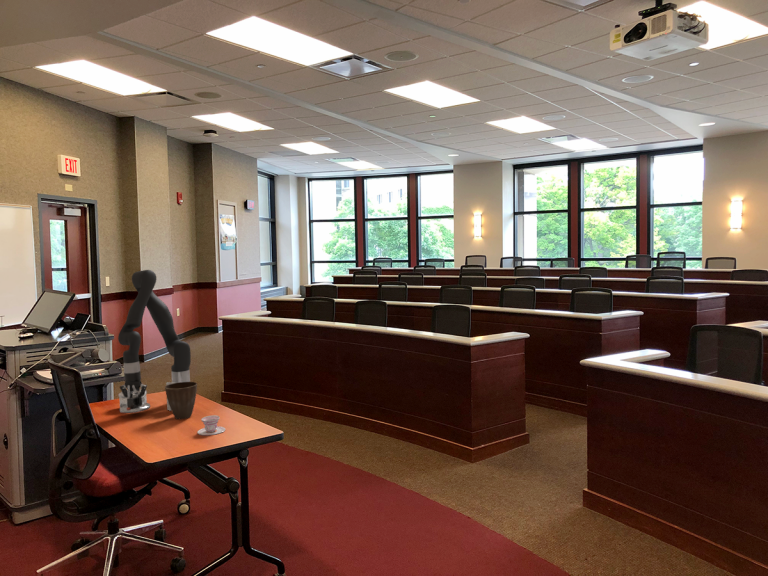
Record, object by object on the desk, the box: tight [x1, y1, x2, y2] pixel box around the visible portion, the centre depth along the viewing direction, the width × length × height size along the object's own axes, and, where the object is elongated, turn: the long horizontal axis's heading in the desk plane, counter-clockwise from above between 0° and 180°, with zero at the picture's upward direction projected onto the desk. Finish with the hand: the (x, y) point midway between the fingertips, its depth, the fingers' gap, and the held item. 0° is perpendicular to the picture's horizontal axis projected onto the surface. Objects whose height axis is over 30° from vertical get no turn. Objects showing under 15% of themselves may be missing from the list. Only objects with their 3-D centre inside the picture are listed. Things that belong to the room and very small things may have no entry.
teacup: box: [197, 414, 226, 436], centre depth 257 cm, size 12×12×6 cm
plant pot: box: [164, 381, 198, 420], centre depth 280 cm, size 15×15×16 cm
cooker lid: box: [119, 395, 151, 414], centre depth 287 cm, size 14×14×6 cm
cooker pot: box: [118, 388, 148, 409], centre depth 302 cm, size 14×14×8 cm
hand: (134, 404), depth 287 cm, fingers closed on cooker lid, 3 cm apart
